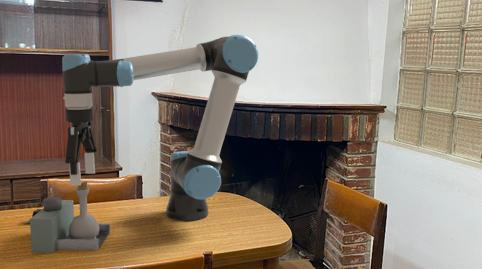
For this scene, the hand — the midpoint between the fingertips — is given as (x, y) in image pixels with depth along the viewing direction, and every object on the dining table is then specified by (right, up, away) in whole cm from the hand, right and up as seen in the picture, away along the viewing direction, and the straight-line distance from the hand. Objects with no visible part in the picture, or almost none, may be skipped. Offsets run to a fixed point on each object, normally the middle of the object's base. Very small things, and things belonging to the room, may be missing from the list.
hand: (83, 179), depth 134 cm
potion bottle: (-1, -19, +3) cm, 19 cm away
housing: (-10, -19, +2) cm, 21 cm away
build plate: (-21, -17, +18) cm, 33 cm away
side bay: (-1, -19, +3) cm, 19 cm away
